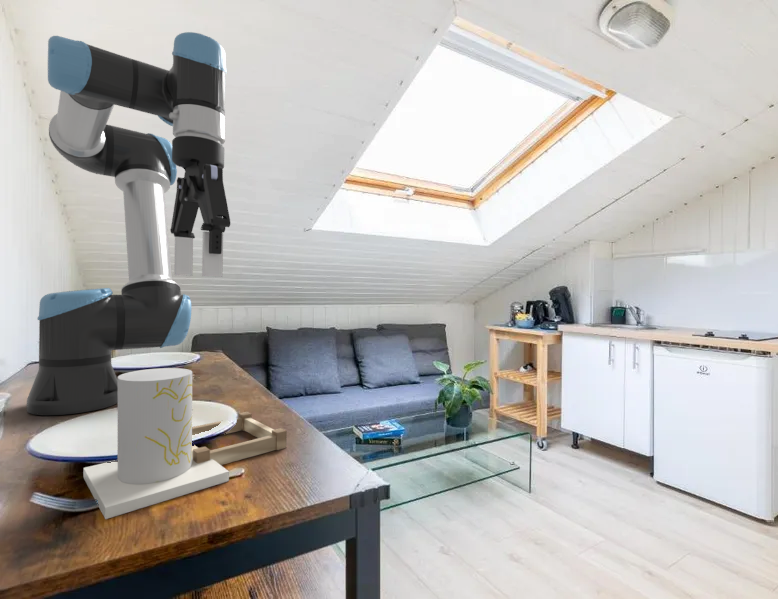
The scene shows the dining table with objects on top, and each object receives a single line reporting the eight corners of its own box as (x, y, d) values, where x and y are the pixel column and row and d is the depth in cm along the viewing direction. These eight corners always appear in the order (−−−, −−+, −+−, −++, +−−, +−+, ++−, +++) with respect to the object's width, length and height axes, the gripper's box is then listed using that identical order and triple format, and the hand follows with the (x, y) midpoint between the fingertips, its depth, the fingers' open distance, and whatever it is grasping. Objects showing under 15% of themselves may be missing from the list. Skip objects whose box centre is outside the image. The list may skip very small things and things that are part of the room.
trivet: (83, 477, 53) (83, 467, 53) (191, 450, 62) (191, 442, 62) (105, 519, 43) (105, 507, 43) (228, 480, 52) (228, 471, 52)
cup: (160, 487, 48) (161, 383, 47) (100, 480, 49) (100, 378, 49) (205, 459, 56) (205, 369, 55) (152, 453, 57) (152, 366, 57)
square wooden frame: (165, 444, 64) (165, 427, 64) (247, 426, 73) (247, 411, 73) (197, 472, 54) (197, 453, 54) (286, 447, 64) (286, 430, 64)
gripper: (152, 152, 73) (150, 274, 74) (201, 113, 54) (198, 276, 55) (197, 161, 78) (195, 275, 79) (256, 128, 59) (253, 278, 60)
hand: (196, 276), depth 67 cm, fingers open, 13 cm apart
